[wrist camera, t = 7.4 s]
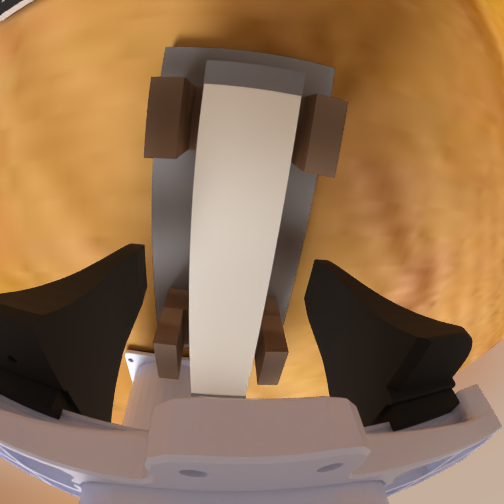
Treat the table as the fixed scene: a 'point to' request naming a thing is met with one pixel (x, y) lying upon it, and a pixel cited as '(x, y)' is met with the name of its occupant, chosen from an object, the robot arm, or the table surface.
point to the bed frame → (181, 193)
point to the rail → (236, 216)
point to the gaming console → (11, 7)
